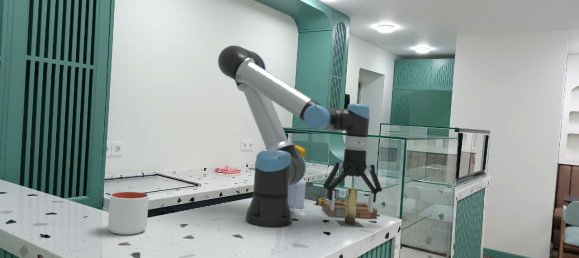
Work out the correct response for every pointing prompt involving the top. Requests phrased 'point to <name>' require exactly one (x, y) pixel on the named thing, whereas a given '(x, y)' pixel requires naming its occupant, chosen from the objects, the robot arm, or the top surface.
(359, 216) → the socket block
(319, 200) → the electronic device
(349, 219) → the yellow tall cylinder
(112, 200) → the cup
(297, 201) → the soap bottle
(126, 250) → the top surface
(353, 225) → the mat
